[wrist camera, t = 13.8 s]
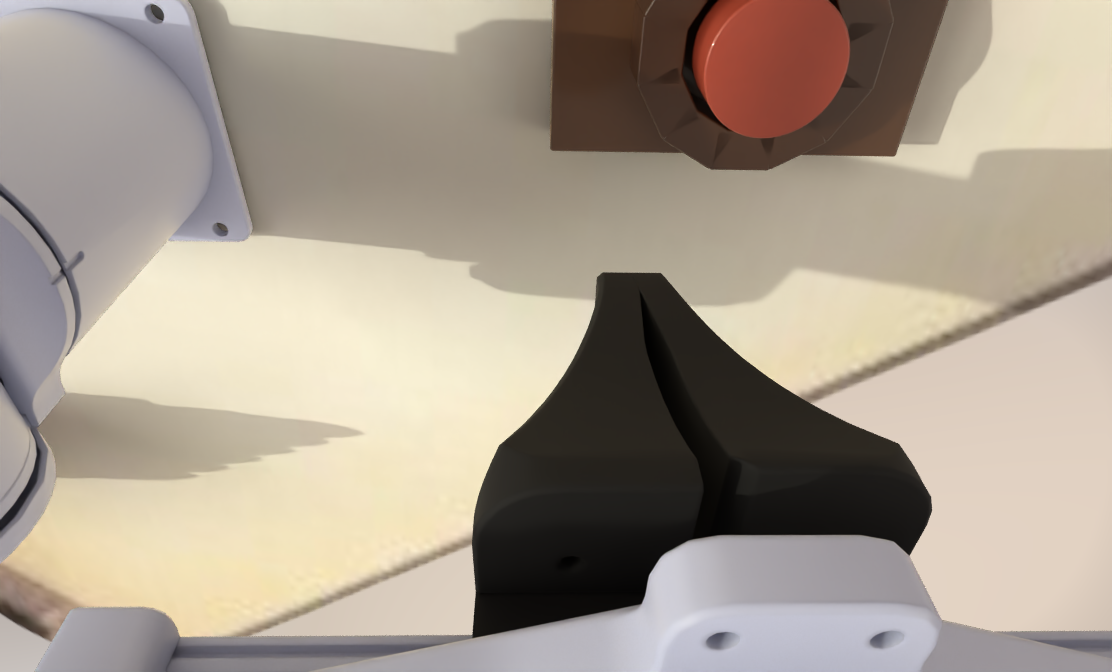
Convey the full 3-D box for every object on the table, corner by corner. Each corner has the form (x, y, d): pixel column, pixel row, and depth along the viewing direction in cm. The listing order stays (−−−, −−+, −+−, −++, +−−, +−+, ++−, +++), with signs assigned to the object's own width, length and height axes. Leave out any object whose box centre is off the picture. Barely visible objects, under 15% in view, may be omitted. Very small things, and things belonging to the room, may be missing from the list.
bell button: (682, 115, 19) (693, 137, 18) (702, -27, 17) (716, -14, 16) (808, 117, 19) (828, 140, 18) (843, -24, 17) (870, -10, 16)
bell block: (549, 131, 23) (551, 175, 20) (554, -122, 18) (557, -111, 16) (874, 137, 23) (921, 181, 20) (953, -110, 19) (1025, -97, 16)
